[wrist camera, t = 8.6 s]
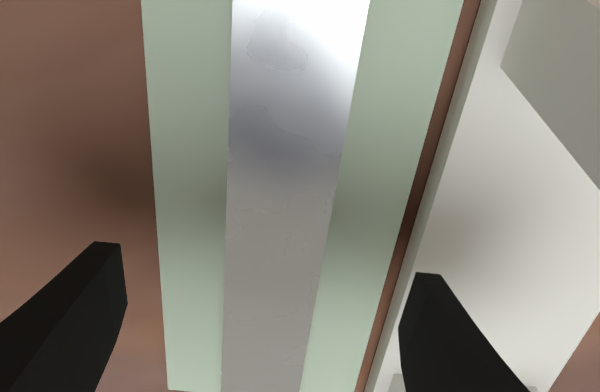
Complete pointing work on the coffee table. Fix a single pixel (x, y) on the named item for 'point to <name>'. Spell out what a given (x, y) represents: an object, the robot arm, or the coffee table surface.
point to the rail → (282, 178)
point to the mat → (349, 189)
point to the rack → (515, 191)
